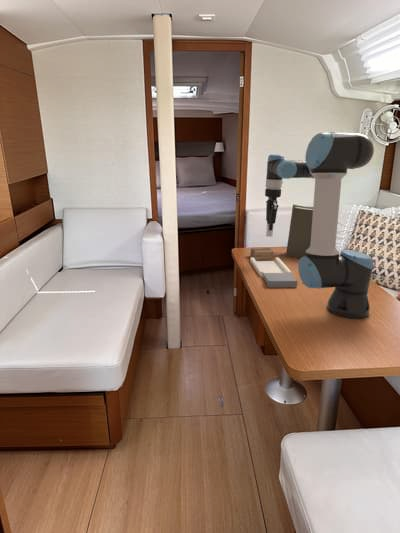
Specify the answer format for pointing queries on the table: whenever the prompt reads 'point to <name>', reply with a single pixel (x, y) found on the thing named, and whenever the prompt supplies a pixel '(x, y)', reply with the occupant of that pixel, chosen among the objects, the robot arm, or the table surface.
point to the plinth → (279, 280)
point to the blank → (262, 253)
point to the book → (300, 231)
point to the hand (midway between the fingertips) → (269, 236)
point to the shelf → (269, 266)
